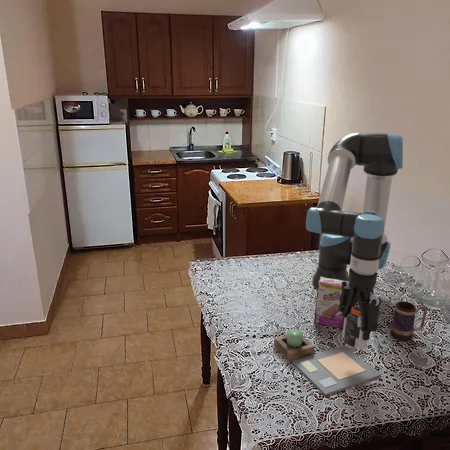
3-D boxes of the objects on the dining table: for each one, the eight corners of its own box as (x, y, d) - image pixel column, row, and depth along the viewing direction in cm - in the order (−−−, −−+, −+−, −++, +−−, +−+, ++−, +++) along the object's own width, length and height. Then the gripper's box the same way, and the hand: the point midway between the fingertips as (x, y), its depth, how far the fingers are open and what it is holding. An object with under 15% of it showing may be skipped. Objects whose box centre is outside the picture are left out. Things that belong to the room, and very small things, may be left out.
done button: (296, 338, 138) (296, 327, 136) (304, 346, 134) (305, 335, 132) (283, 342, 136) (284, 331, 134) (291, 350, 132) (292, 339, 130)
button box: (297, 339, 141) (297, 331, 140) (313, 354, 133) (314, 346, 132) (273, 346, 137) (274, 338, 136) (289, 361, 130) (290, 353, 129)
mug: (391, 340, 141) (396, 308, 138) (388, 329, 148) (393, 298, 144) (424, 344, 139) (430, 312, 136) (419, 333, 146) (425, 301, 142)
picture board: (343, 346, 138) (344, 344, 137) (380, 376, 124) (381, 373, 124) (291, 362, 129) (292, 360, 129) (325, 395, 116) (325, 393, 115)
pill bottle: (365, 349, 123) (370, 314, 120) (344, 347, 124) (348, 312, 121) (363, 338, 129) (368, 304, 125) (343, 335, 130) (347, 302, 126)
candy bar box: (313, 324, 150) (317, 281, 145) (315, 317, 155) (319, 276, 150) (346, 330, 147) (351, 287, 142) (347, 323, 151) (352, 281, 146)
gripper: (330, 260, 126) (323, 329, 133) (378, 286, 110) (367, 363, 117) (350, 256, 129) (342, 323, 136) (399, 281, 113) (387, 356, 120)
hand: (354, 341), depth 126 cm, fingers closed on pill bottle, 6 cm apart
